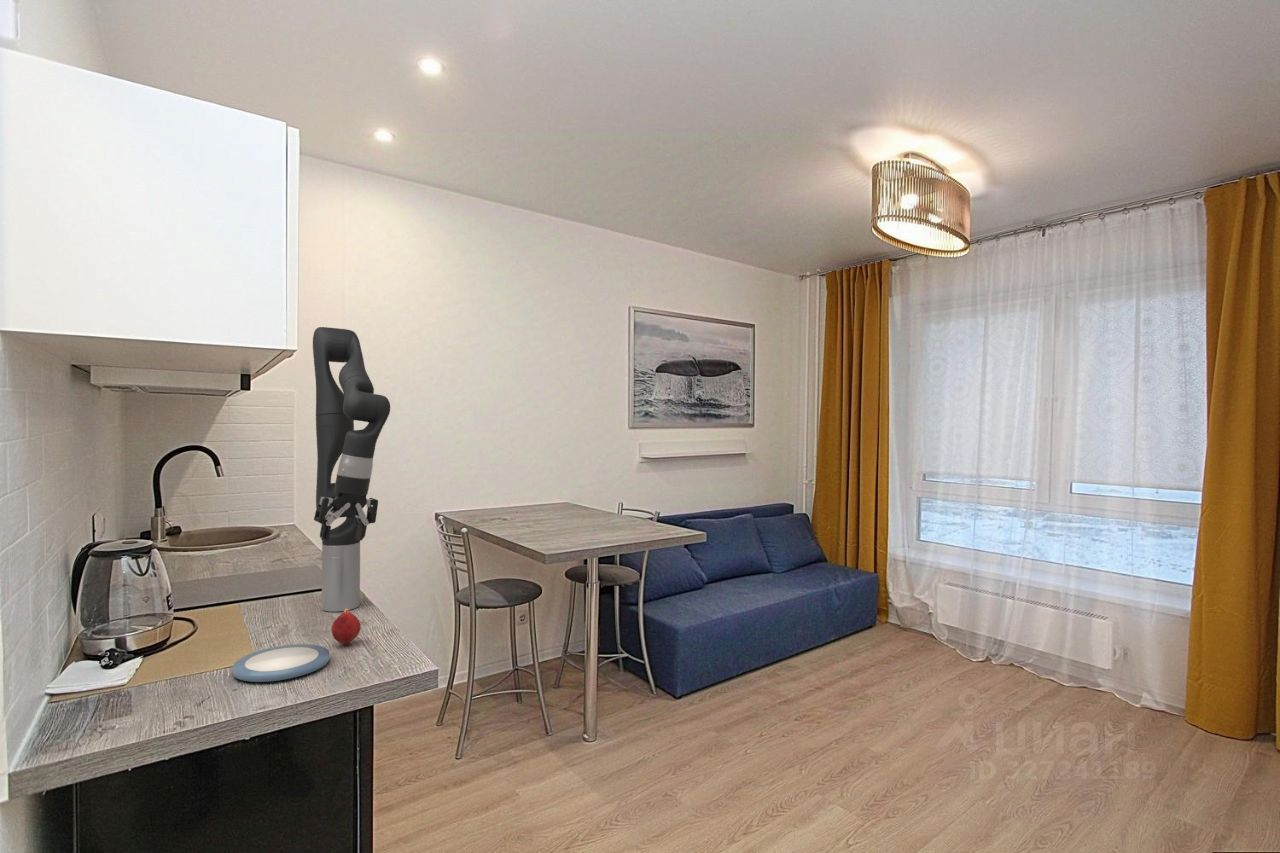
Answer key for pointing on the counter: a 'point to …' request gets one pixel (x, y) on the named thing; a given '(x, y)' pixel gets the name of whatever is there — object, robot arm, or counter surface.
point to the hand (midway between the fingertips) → (341, 540)
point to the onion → (346, 627)
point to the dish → (280, 662)
